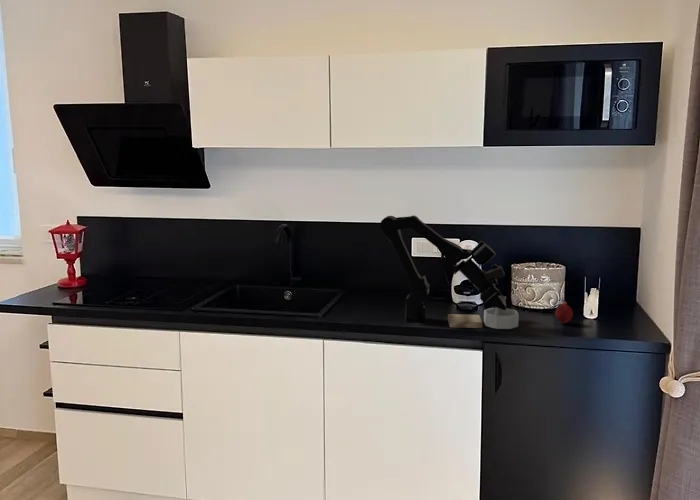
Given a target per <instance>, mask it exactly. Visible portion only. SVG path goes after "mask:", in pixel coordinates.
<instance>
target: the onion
mask: <svg viewBox="0 0 700 500" xmlns="http://www.w3.org/2000/svg"><path fill="white" fill-rule="evenodd" d="M554 315H555V319H556V320H557V321H559V322H560V323H561V325H562V324H563V325H565V324H567V323H568V322H570V321H571V320H572V318H573V316H574V311H573V310H572V308H571V306H569V305H568V303H567V301H564V302H562V303H561V304H559V306H558V307H557V308H556V309H555V312H554Z"/></svg>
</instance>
